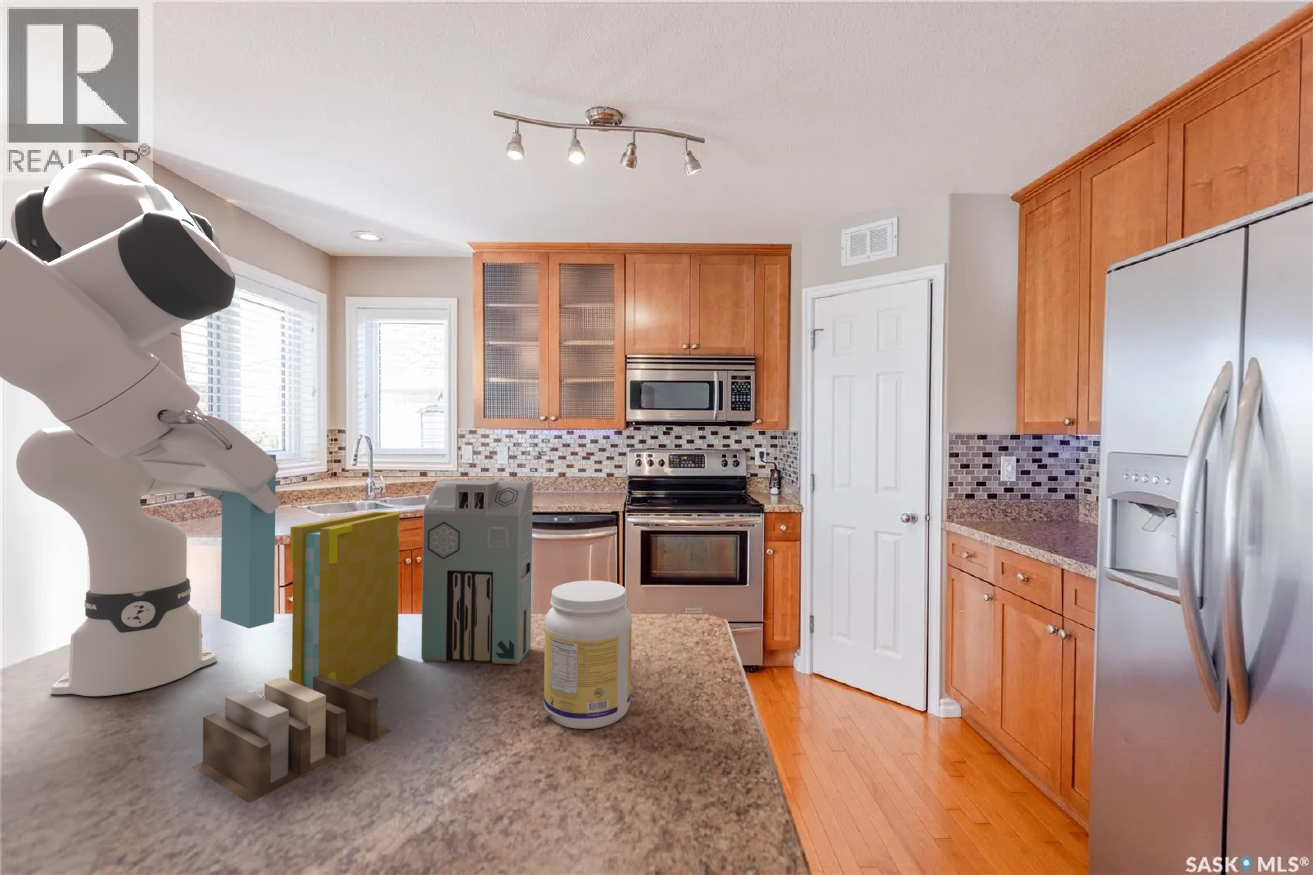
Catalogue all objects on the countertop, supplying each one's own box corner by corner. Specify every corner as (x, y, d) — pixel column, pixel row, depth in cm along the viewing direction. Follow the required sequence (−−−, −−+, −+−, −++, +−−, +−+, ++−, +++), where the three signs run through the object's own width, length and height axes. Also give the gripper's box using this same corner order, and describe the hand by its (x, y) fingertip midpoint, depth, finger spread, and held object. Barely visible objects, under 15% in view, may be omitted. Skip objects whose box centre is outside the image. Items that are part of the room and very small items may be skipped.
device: (420, 662, 95) (422, 483, 95) (441, 645, 103) (443, 479, 102) (517, 666, 94) (520, 485, 94) (530, 648, 102) (533, 481, 101)
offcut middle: (263, 742, 67) (264, 683, 67) (282, 734, 69) (282, 677, 69) (307, 765, 63) (307, 702, 63) (325, 756, 65) (325, 695, 65)
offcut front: (225, 759, 64) (225, 697, 64) (245, 750, 66) (245, 690, 66) (267, 784, 59) (268, 717, 59) (288, 774, 61) (288, 709, 61)
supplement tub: (575, 683, 88) (577, 574, 88) (645, 701, 82) (647, 585, 82) (524, 719, 77) (526, 594, 77) (601, 742, 71) (603, 608, 71)
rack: (191, 779, 62) (192, 720, 62) (335, 717, 76) (335, 669, 76) (248, 817, 57) (249, 752, 56) (392, 742, 70) (393, 690, 70)
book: (330, 709, 78) (332, 529, 78) (288, 704, 80) (290, 526, 80) (407, 661, 95) (409, 512, 95) (371, 658, 96) (373, 510, 96)
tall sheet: (220, 618, 62) (222, 453, 62) (245, 612, 64) (247, 452, 64) (249, 628, 59) (251, 455, 59) (274, 622, 61) (275, 454, 61)
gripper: (222, 387, 50) (331, 489, 59) (127, 392, 60) (232, 478, 69) (158, 438, 46) (284, 539, 55) (68, 434, 56) (187, 520, 65)
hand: (254, 505), depth 62 cm, fingers closed on tall sheet, 6 cm apart
